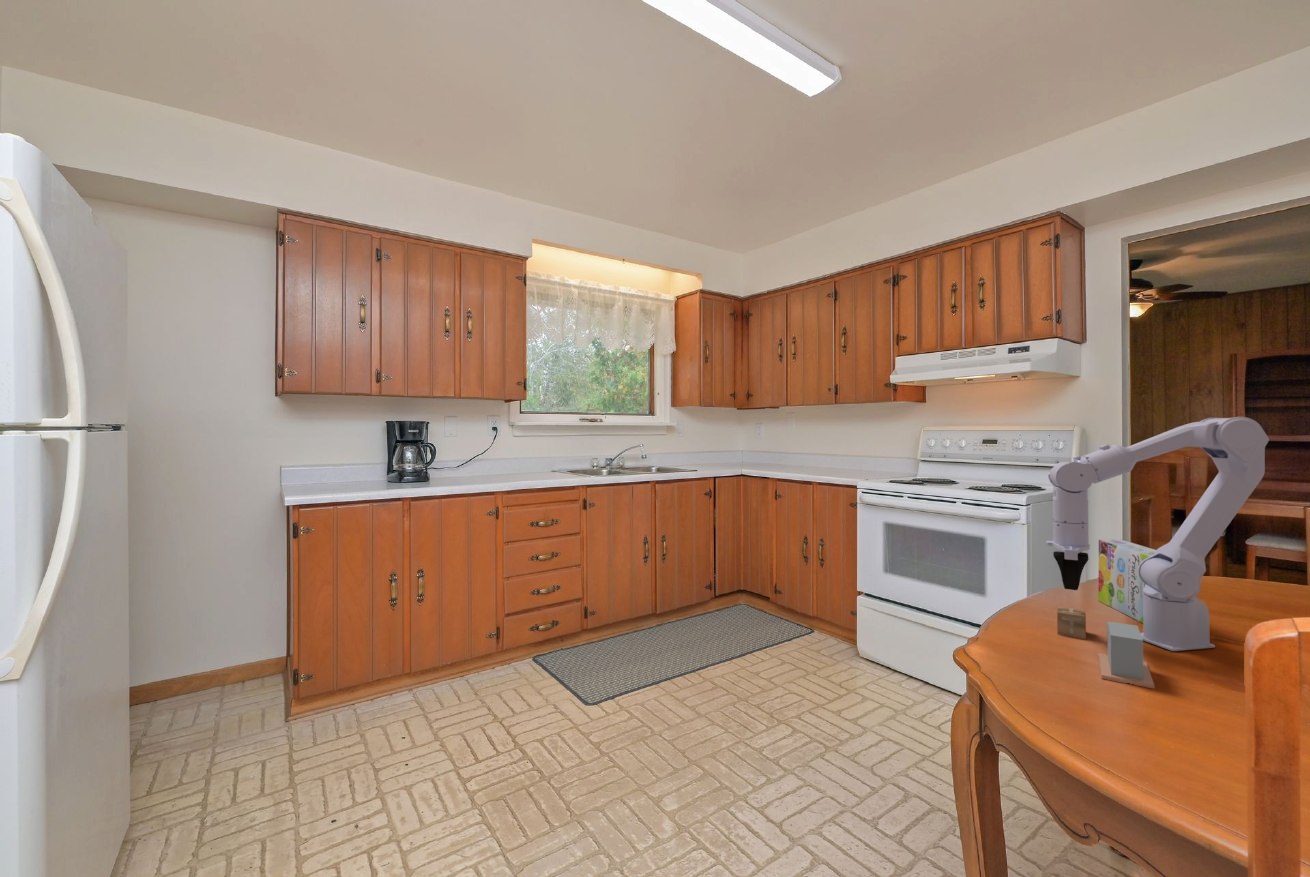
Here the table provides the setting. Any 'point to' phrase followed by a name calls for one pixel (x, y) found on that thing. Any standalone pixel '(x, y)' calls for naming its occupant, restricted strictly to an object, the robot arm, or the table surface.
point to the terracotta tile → (1107, 675)
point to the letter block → (1071, 622)
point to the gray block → (1125, 650)
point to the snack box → (1122, 576)
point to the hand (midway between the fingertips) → (1070, 588)
